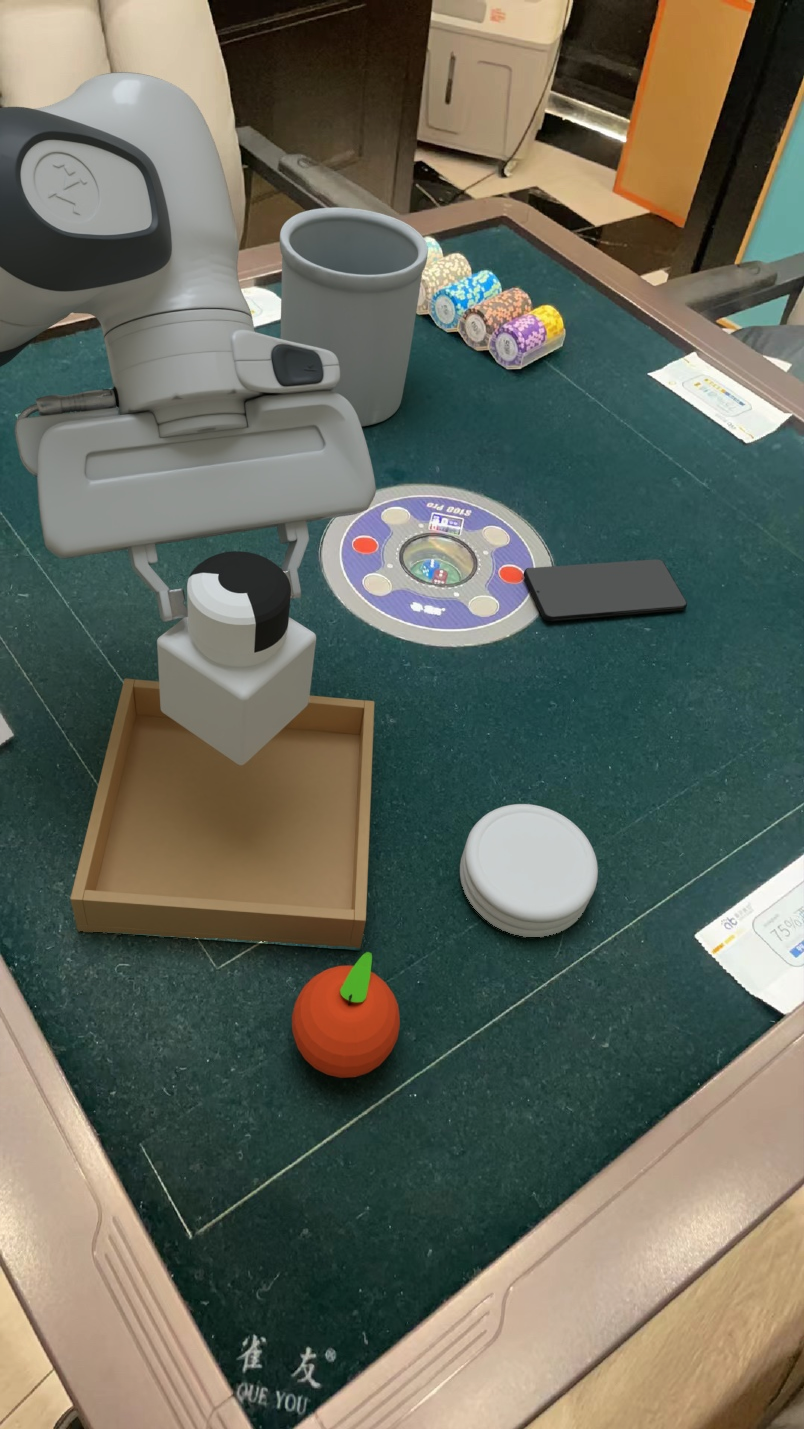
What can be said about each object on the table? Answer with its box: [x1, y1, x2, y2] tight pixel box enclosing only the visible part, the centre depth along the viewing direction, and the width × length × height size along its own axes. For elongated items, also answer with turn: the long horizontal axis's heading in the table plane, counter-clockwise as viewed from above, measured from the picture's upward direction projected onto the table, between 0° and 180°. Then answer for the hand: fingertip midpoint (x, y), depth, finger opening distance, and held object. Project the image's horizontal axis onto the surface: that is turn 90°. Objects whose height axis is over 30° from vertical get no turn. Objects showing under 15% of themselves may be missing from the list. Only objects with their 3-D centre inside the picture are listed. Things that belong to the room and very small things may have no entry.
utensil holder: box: [279, 206, 429, 428], centre depth 111 cm, size 15×15×18 cm
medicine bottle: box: [156, 550, 317, 765], centre depth 66 cm, size 7×7×12 cm
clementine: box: [291, 951, 401, 1079], centre depth 67 cm, size 8×7×7 cm
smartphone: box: [522, 558, 688, 622], centre depth 101 cm, size 7×1×15 cm
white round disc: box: [459, 803, 599, 938], centre depth 78 cm, size 10×10×4 cm
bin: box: [69, 677, 375, 949], centre depth 78 cm, size 20×20×4 cm
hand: (232, 609), depth 65 cm, fingers closed on medicine bottle, 6 cm apart
